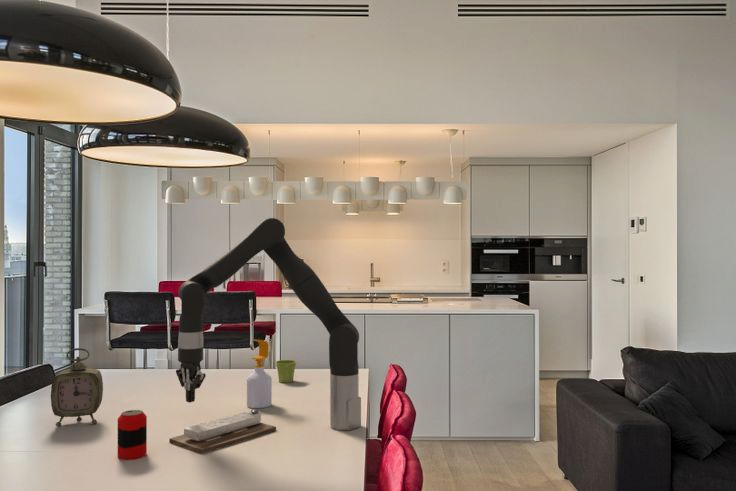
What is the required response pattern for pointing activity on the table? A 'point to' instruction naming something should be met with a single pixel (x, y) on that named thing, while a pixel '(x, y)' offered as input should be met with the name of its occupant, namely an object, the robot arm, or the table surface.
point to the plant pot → (286, 370)
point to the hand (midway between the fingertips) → (190, 401)
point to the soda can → (132, 435)
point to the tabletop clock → (76, 391)
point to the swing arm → (222, 425)
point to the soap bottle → (259, 381)
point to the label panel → (222, 438)
